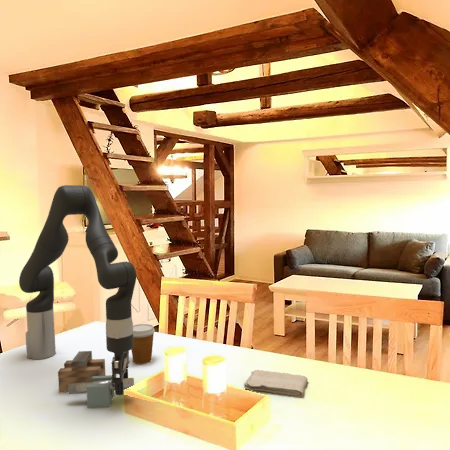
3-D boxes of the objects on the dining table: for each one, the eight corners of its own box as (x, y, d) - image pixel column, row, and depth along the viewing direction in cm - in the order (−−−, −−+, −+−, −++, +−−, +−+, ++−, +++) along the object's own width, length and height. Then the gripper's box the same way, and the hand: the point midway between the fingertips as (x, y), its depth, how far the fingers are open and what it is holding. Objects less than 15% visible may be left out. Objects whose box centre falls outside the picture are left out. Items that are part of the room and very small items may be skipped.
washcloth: (252, 376, 144) (252, 367, 144) (308, 382, 138) (308, 372, 138) (242, 392, 133) (242, 382, 132) (303, 399, 127) (303, 389, 127)
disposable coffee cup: (160, 361, 157) (159, 328, 156) (134, 368, 152) (133, 333, 151) (148, 353, 165) (147, 321, 164) (124, 359, 159) (123, 326, 158)
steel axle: (68, 396, 126) (67, 387, 125) (71, 390, 129) (70, 381, 128) (133, 390, 127) (132, 381, 126) (134, 385, 130) (133, 375, 129)
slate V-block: (87, 408, 124) (86, 387, 123) (93, 395, 131) (92, 376, 131) (109, 407, 124) (108, 386, 124) (114, 394, 132) (113, 375, 131)
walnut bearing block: (59, 392, 134) (57, 362, 133) (67, 380, 143) (66, 352, 142) (99, 390, 135) (98, 360, 134) (105, 378, 143) (104, 350, 143)
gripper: (111, 325, 133) (113, 378, 135) (100, 341, 119) (103, 400, 121) (136, 324, 134) (138, 376, 135) (129, 340, 120) (131, 398, 121)
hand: (121, 387), depth 128 cm, fingers open, 8 cm apart
